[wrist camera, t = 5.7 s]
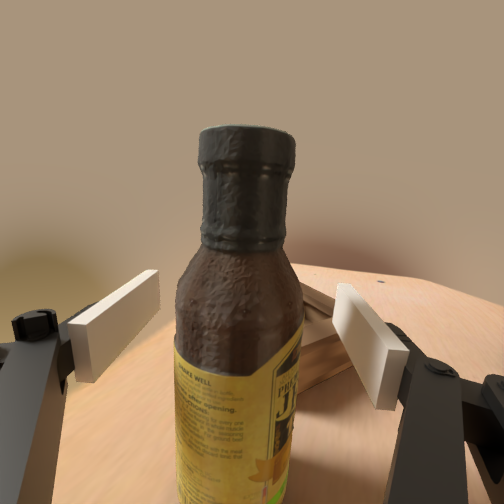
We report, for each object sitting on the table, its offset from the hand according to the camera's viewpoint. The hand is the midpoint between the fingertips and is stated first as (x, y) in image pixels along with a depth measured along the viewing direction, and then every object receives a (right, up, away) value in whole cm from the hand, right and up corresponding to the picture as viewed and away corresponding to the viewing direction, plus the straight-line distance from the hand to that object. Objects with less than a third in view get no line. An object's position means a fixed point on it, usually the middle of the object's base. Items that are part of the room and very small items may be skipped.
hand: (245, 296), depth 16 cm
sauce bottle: (-1, -12, -1) cm, 12 cm away
